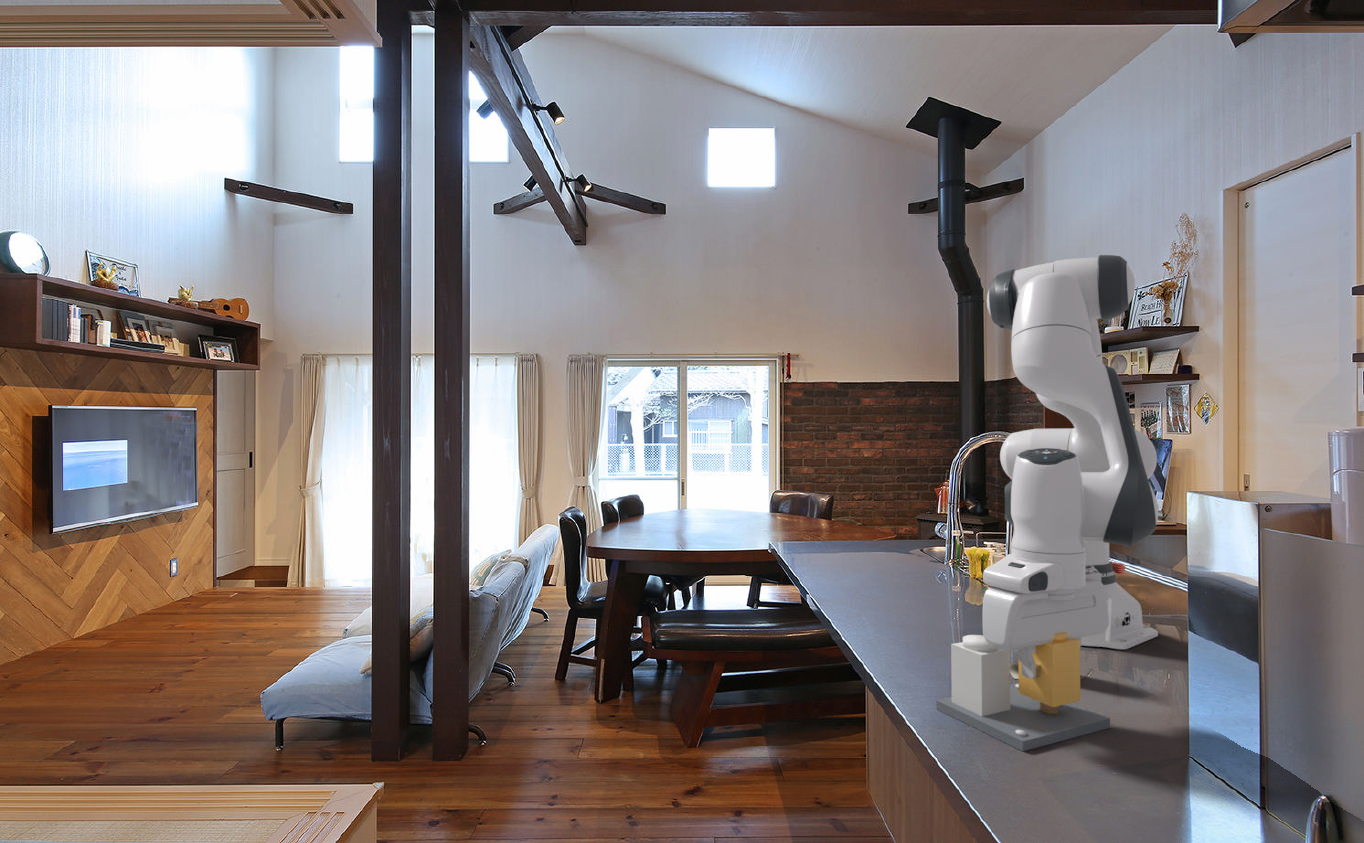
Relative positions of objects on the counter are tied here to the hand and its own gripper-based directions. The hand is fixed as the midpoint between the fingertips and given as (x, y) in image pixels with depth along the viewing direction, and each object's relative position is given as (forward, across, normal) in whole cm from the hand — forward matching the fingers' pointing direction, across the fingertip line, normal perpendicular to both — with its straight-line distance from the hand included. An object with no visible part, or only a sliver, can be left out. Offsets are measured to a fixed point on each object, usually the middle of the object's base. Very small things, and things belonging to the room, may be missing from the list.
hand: (1048, 673), depth 92 cm
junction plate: (+6, +3, -2) cm, 7 cm away
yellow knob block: (+3, 0, 0) cm, 3 cm away
